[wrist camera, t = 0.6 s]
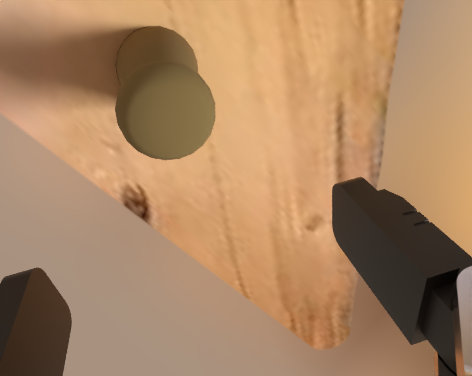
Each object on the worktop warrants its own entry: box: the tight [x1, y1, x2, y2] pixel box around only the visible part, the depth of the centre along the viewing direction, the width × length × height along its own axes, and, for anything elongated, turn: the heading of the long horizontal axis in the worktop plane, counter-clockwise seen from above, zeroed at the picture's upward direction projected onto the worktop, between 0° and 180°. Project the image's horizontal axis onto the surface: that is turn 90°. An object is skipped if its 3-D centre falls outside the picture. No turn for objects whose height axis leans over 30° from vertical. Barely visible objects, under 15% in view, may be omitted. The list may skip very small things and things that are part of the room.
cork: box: [115, 26, 215, 160], centre depth 21 cm, size 6×6×11 cm
